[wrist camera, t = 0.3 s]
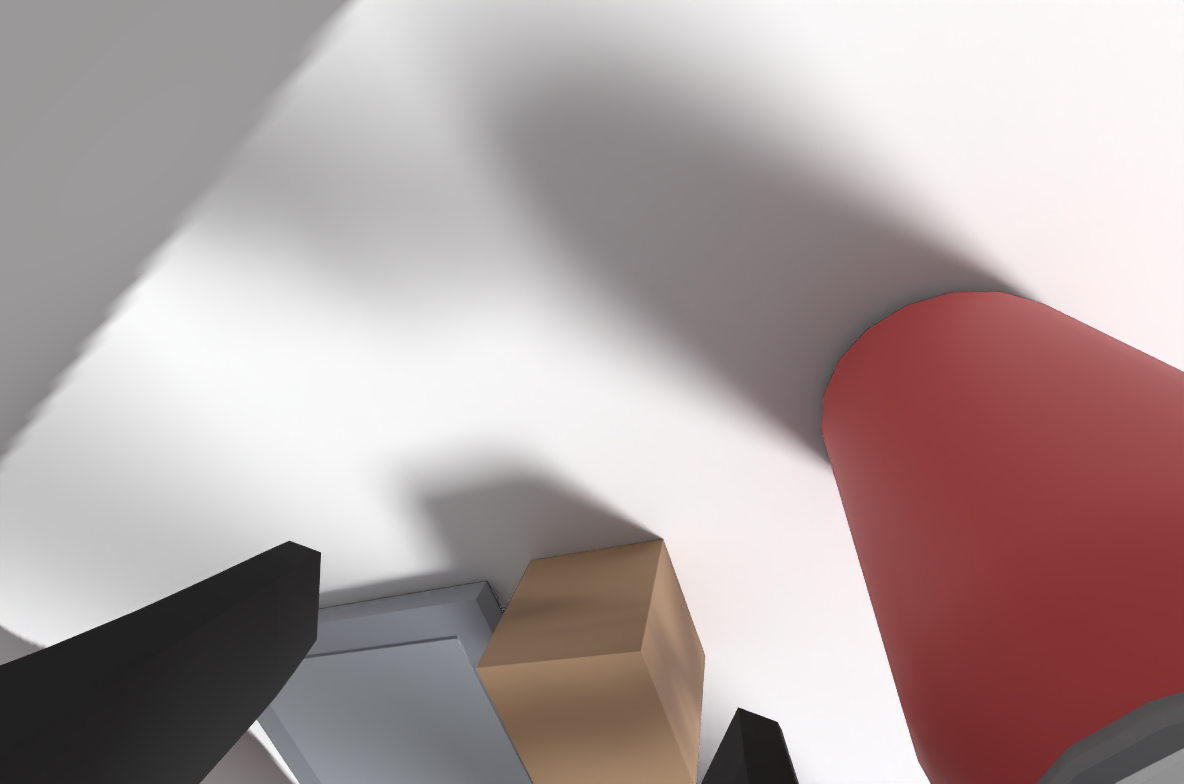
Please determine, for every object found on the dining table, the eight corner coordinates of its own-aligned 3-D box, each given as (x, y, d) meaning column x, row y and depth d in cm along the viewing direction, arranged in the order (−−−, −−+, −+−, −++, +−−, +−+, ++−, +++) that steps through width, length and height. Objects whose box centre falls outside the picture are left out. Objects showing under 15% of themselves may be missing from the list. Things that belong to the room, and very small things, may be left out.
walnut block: (705, 653, 21) (696, 789, 17) (578, 666, 23) (538, 793, 18) (663, 537, 20) (640, 651, 15) (531, 559, 21) (475, 668, 17)
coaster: (612, 839, 26) (606, 867, 25) (362, 839, 30) (349, 862, 29) (486, 581, 22) (474, 600, 21) (222, 625, 27) (202, 643, 26)
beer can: (1041, 235, 14) (2068, 509, 3) (1128, 461, 15) (2050, 1187, 5) (778, 354, 16) (849, 737, 6) (872, 540, 18) (1076, 1134, 7)
